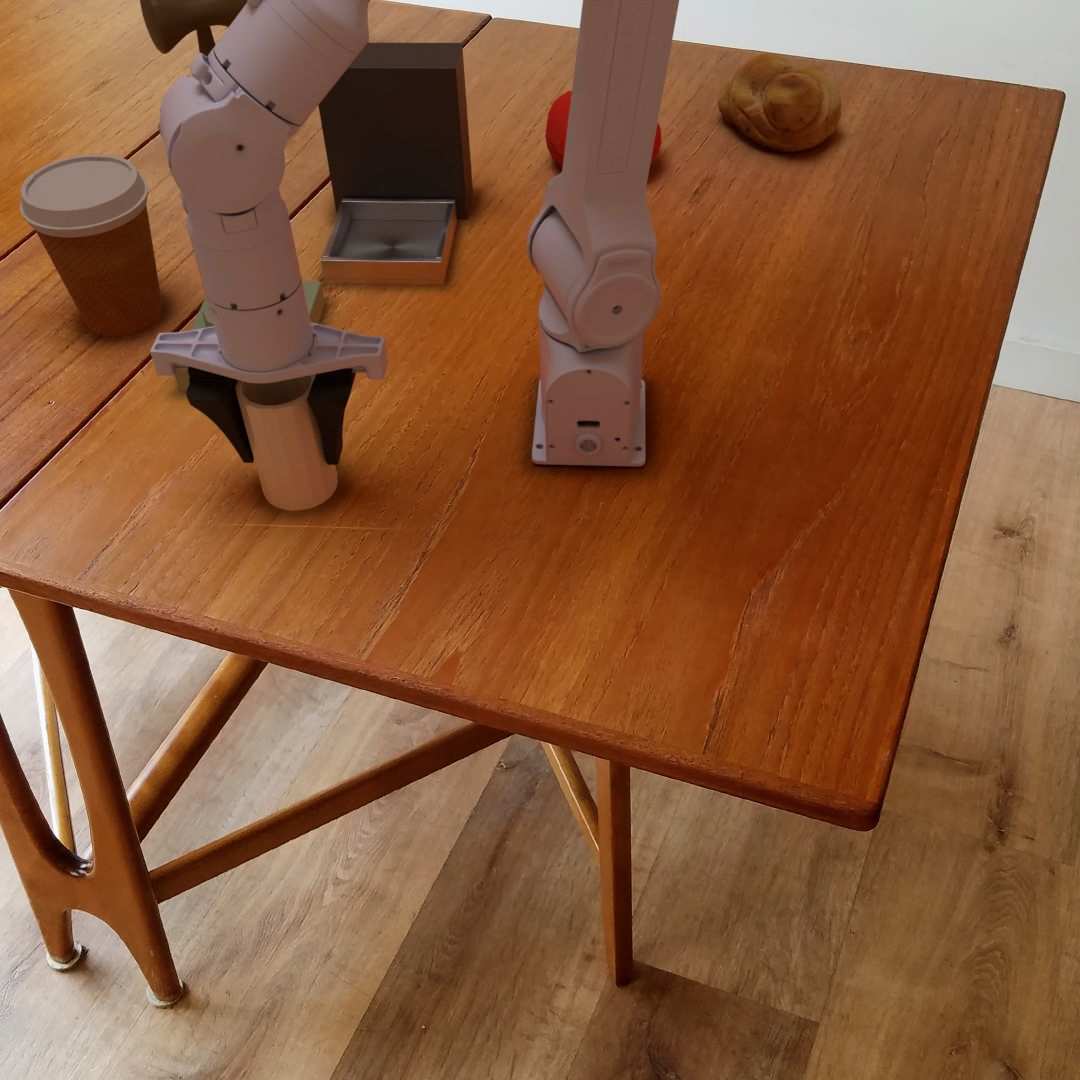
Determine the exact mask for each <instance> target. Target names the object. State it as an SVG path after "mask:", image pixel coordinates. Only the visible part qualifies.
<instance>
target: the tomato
mask: <svg viewBox="0 0 1080 1080" xmlns="http://www.w3.org/2000/svg"><path fill="white" fill-rule="evenodd" d="M571 94H572V90H567V91H566V92H564V93H562V94H560V96H558V97H557V98H555V99H554V101H553V102H552V103H551V106H550V108H549V110H548V113H547V119H546V126H545V135H544V136H545V143H546V148H547V150H548V152H549V155H550V156H551V159H553V160H554V161H556V162H557V163H558V165H559V166H560V167H561V169H562V168H563V160H564V152H565V144H566V136H567V127H568V119H569V111H570V103H571ZM661 145H662V129H661V126H660V123H659V122H658V123H657V129H656V135H655V140H654V146H653V152H652V157H651V163H650V165H652V163H653V162H654V160H655V159H657V156H658V155H659V153H660V149H661Z"/></svg>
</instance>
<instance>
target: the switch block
mask: <svg viewBox="0 0 1080 1080" xmlns="http://www.w3.org/2000/svg"><path fill="white" fill-rule="evenodd" d="M302 283H303V288H304V293H305V297H306V302H307V307H308V312H309V317H310V322H313V323H317V324H320V321H321V317H322V314H323V311H324V308H325V305H326V299H325V295H324V290H323V285H322V281H321V280H320V281H319V280H318V281H317V280H302ZM211 326H214V323H213V320H212V316H211V312H210V309H209V305H208V301H207V298H206V297H204V300H203V302H202V304H201V307H200V308H199V311H198V312H197V315H196V317H195V319H194V321H193V324H192V326H191V328H190V330H195V329H201V328H206V327H211ZM173 376H174V378H175V381H176V384H177V388H178V390H179V392H185V393H186V391H187V388H188V386H189V384H190V382H189V378H190V377H189V374H188V371H187V370H180V369H176V373H175V374H174V375H173Z"/></svg>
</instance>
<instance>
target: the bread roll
mask: <svg viewBox="0 0 1080 1080" xmlns="http://www.w3.org/2000/svg"><path fill="white" fill-rule="evenodd" d="M717 97H718V98H717V106H718V107H717V108H718V111H719V113H720V114H721V116H722V117H723V119H724V120H725V121H727V122H728V123H729V124H731V125H733V126H735V127H737V128H738V130H739V131H740V132H741V134H743V135H745V136H746V137H747V138H749V139H750V140H751V141H753V142H754V143H756V144H757V145H759V146H762V147H766V148H768V149H769V148H770V149H772V150H775V151H780V152H787V153H795V152H802V151H805V150H808V149H812V148H815V147H816V146H818V145H819V144H822V143H823V142H824V141H825V140H827V138H828V137H829V136H831V135H832V134H833V133H834V132H835V131H836V130H837V127H838V126H839V123H840V119H841V116H842V97H841V94H840V92H839V89H838V87H837V85H836V81H835V80H834V79H833V78H832V77H831V76H829V75H828V73H827V72H825V71H824V70H823V69H822V68H821V67H820V66H816V65H815V66H814V65H796V66H794V65H793V63H791V62H790V60H789V59H788V58H786V57H784V56H781V55H778V54H774V53H773V54H772V53H761V54H759V55H757V56H755V57H752V58H750V59H749V60H746V62H745V63H742V64H741V65H740V66H739V67H737V69H736V70H735V71H734V73H733V75H732V77H731V78H730V80H728V81H726V82H725V83H724V84H723V85H722V86H720V88H719V92H718V96H717Z"/></svg>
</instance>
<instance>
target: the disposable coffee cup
mask: <svg viewBox="0 0 1080 1080" xmlns="http://www.w3.org/2000/svg"><path fill="white" fill-rule="evenodd" d="M137 169H138V168H136V166H135V165H134V163H132V162H131V161H130V160H128V159H126V158H124V157H120V156H119V155H118V156H117V155H113V154H104V153H91V154H90V153H89V154H80V155H75V156H70V157H67V158H62V159H59V160H55V161H52V162H50V163H48V164H46V165H44V166H42V167H40V168H38V169H36V170H35V171H33V173H31V174H30V175H29V176H28V177H27V178H26V179H25V180H24V181H23V182H22V184H21V187H20V198H21V200H20V202H19V211H20V214H21V217H22V219H24V221H25V222H27V224H29V226H30V227H31V228H32V229H33V230H34V231H35V232H36V234H37V236H38V238H39V240H40V242H41V243H42V246H43V247H44V249H45V250H46V253H47V254H48V256H49V258H50V260H51V262H52V264H53V266H54V268H55V269H56V271H57V273H58V275H59V277H60V279H61V281H62V283H63V284H64V286H65V288H66V290H67V292H68V294H69V295H70V297H71V299H72V301H73V303H74V305H75V307H76V308H77V311H78V312H79V314H80V316H81V318H82V320H83V321H84V324H85V325H86V328H87V329H88V330H90V331H91V332H93V333H94V334H97V335H100V336H104V337H122V336H127V335H131V334H135V333H138V332H141V331H142V330H145V329H147V328H148V327H149V328H150V326H152V325H153V324H154V323H156V322H157V321H158V319H159V318H160V317H161V315H162V314H163V310H164V309H163V302H162V301H163V300H162V294H161V289H160V288H161V287H160V281H159V276H158V270H157V269H158V268H157V263H156V257H155V251H154V244H153V238H152V231H151V224H150V219H149V218H150V217H149V212H148V207H147V203H148V198H149V197H148V196H149V185H148V182H147V180H146V178H145V177H144V176H143V175H142V174H140V173H139V171H138V170H137Z"/></svg>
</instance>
